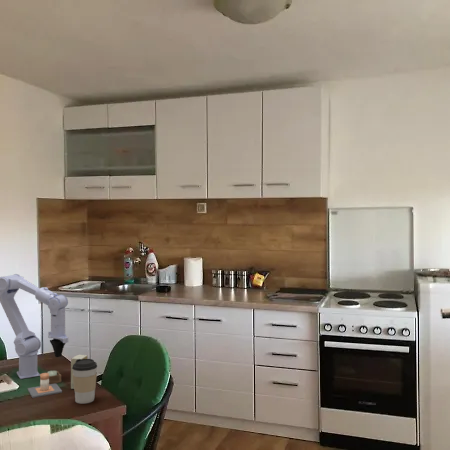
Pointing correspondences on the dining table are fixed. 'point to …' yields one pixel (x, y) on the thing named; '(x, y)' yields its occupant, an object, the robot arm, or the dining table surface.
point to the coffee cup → (84, 380)
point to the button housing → (55, 378)
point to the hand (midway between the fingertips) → (58, 356)
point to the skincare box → (72, 366)
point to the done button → (52, 373)
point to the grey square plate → (38, 393)
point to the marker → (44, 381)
